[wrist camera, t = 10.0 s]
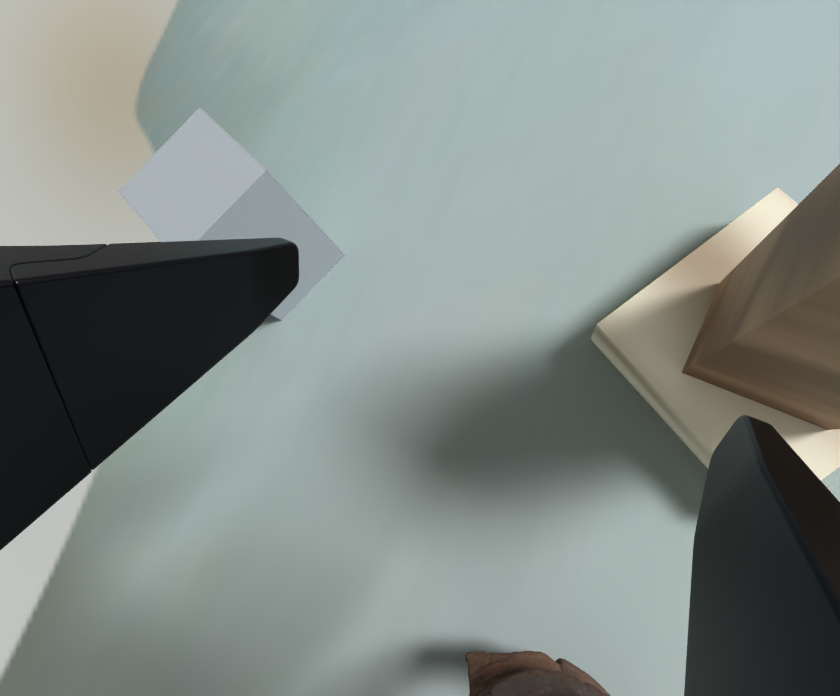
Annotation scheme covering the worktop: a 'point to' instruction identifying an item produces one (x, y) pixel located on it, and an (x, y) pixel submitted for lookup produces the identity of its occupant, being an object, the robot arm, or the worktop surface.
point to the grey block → (225, 201)
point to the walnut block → (782, 316)
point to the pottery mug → (527, 676)
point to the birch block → (675, 336)
